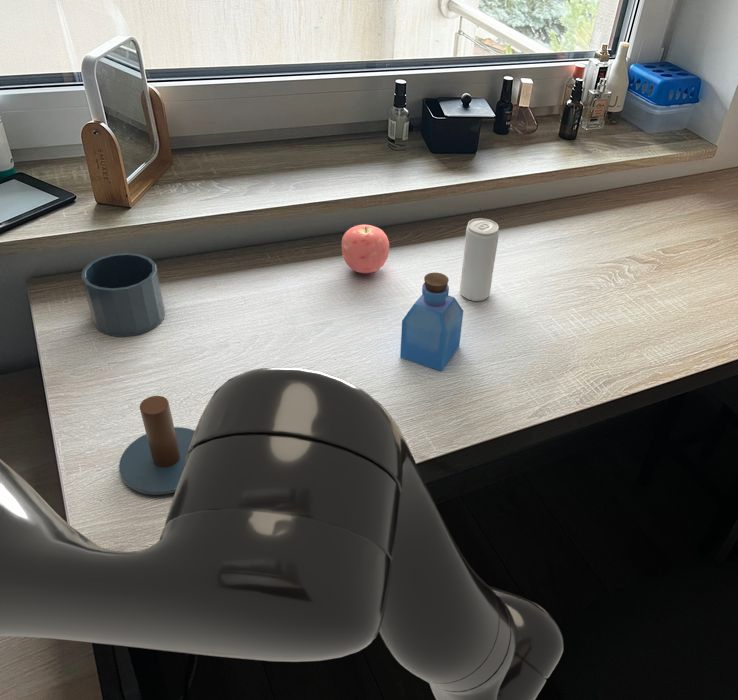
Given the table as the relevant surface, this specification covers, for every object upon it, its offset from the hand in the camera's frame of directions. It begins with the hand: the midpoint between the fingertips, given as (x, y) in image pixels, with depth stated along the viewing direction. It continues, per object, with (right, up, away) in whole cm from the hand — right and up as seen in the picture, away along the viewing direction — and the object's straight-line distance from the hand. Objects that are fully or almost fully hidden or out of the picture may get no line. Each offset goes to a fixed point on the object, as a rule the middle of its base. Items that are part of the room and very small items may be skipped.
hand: (223, 451), depth 69 cm
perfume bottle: (+18, +9, +31) cm, 37 cm away
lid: (-10, -3, +11) cm, 15 cm away
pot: (-23, +14, +31) cm, 41 cm away
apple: (+7, +22, +46) cm, 52 cm away
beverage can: (+24, +18, +44) cm, 53 cm away
